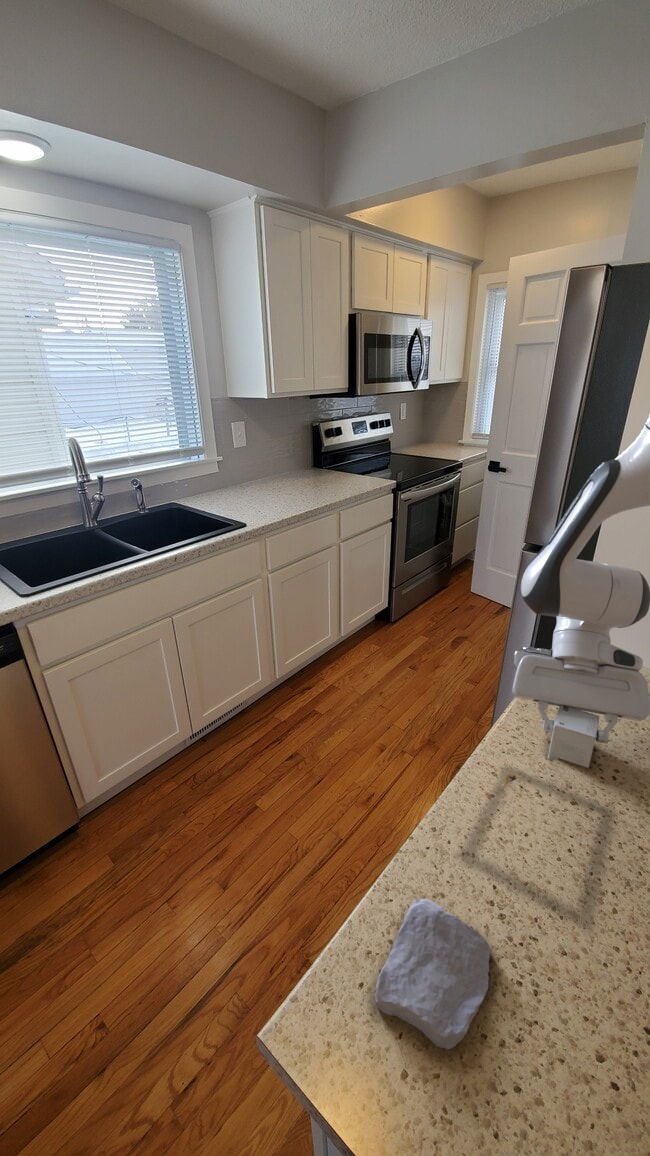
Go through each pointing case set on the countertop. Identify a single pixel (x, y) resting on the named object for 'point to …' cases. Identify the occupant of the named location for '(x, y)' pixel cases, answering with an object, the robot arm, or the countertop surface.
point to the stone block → (435, 974)
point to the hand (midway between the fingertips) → (574, 737)
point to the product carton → (573, 736)
